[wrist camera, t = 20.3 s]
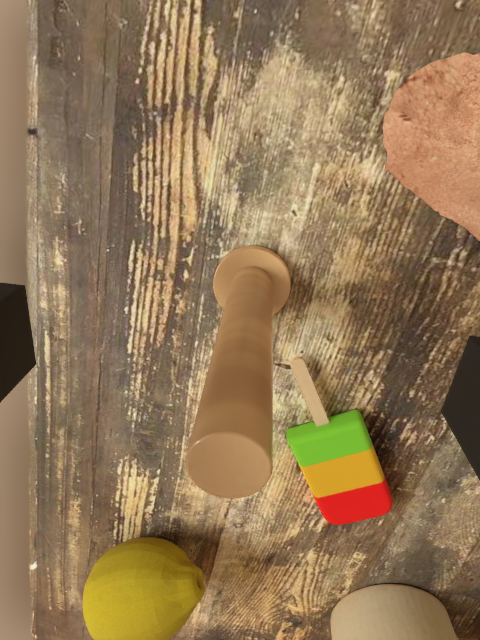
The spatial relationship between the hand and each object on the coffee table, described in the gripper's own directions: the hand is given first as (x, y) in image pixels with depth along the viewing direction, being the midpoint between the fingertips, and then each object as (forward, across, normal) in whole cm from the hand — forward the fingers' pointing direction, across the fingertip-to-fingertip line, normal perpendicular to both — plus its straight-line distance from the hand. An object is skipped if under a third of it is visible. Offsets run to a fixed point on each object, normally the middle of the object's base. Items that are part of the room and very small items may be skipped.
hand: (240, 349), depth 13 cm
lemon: (+14, -6, -30) cm, 33 cm away
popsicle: (+14, +7, -15) cm, 22 cm away
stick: (+14, 0, -3) cm, 15 cm away
